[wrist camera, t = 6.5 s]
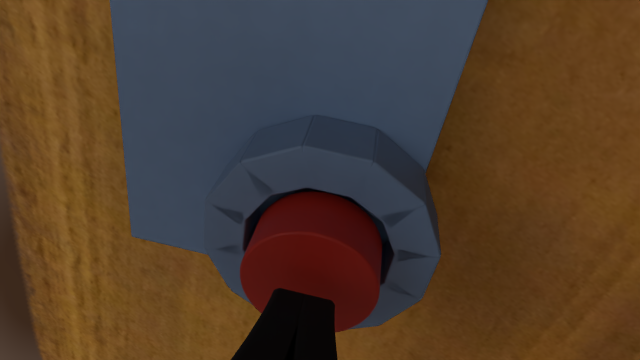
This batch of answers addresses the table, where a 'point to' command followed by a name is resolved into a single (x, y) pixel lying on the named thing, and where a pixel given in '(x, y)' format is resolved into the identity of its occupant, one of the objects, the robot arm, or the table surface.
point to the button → (316, 255)
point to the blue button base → (288, 120)
